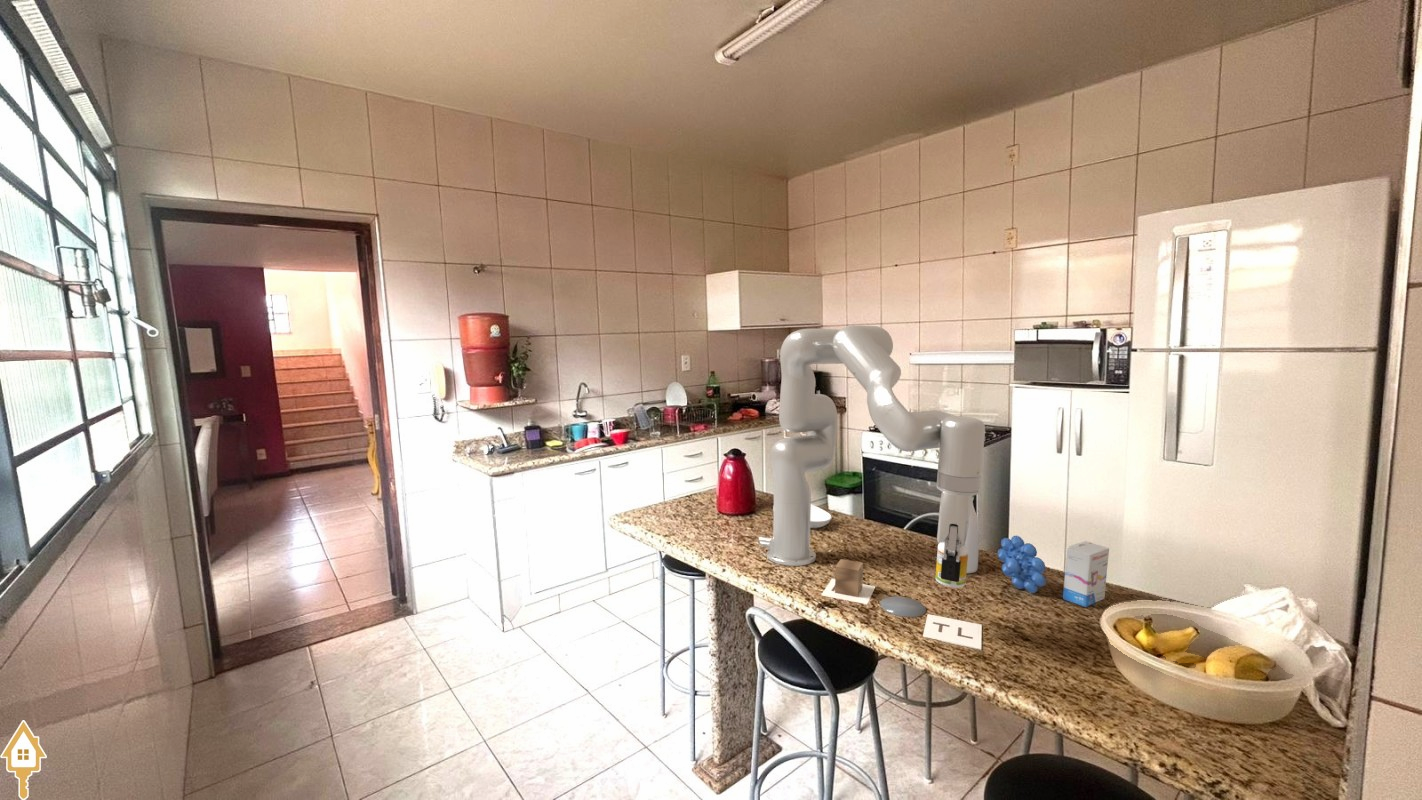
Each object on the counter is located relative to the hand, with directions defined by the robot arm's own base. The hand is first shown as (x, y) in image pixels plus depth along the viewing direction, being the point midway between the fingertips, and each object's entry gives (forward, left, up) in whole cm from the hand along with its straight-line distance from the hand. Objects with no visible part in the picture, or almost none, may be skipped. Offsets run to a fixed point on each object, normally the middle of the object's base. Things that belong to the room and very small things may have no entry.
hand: (950, 572), depth 109 cm
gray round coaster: (-9, +6, -11) cm, 16 cm away
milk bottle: (+1, +35, -12) cm, 36 cm away
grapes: (+13, +27, -12) cm, 32 cm away
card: (+1, 0, -11) cm, 11 cm away
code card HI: (-21, +9, -11) cm, 26 cm away
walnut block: (-21, +9, -11) cm, 25 cm away
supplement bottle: (0, 0, -2) cm, 2 cm away
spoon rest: (-47, +54, -12) cm, 73 cm away
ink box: (+26, +28, -12) cm, 39 cm away
